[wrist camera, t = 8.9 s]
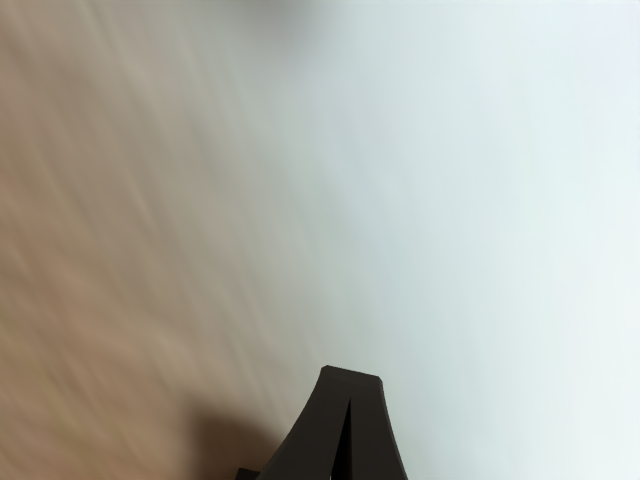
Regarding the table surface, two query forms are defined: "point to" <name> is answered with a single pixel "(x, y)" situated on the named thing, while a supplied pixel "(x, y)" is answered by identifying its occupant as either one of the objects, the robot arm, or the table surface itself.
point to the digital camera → (246, 474)
